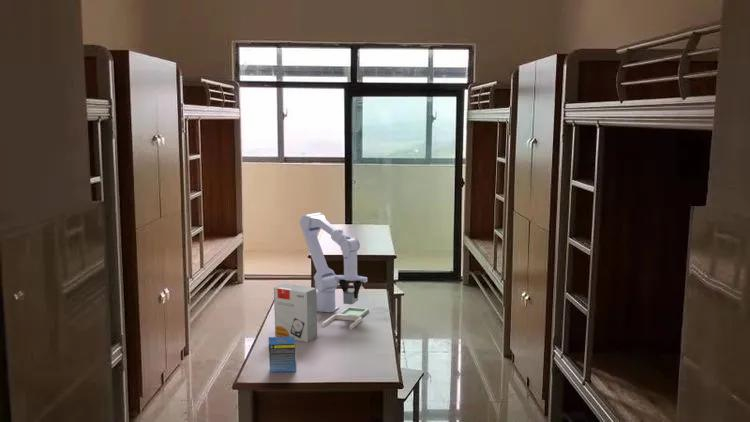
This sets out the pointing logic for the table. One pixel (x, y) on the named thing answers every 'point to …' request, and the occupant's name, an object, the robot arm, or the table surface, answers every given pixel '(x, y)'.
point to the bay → (344, 317)
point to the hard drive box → (295, 312)
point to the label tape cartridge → (282, 354)
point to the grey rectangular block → (349, 297)
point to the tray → (355, 311)
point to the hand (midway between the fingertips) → (351, 297)
